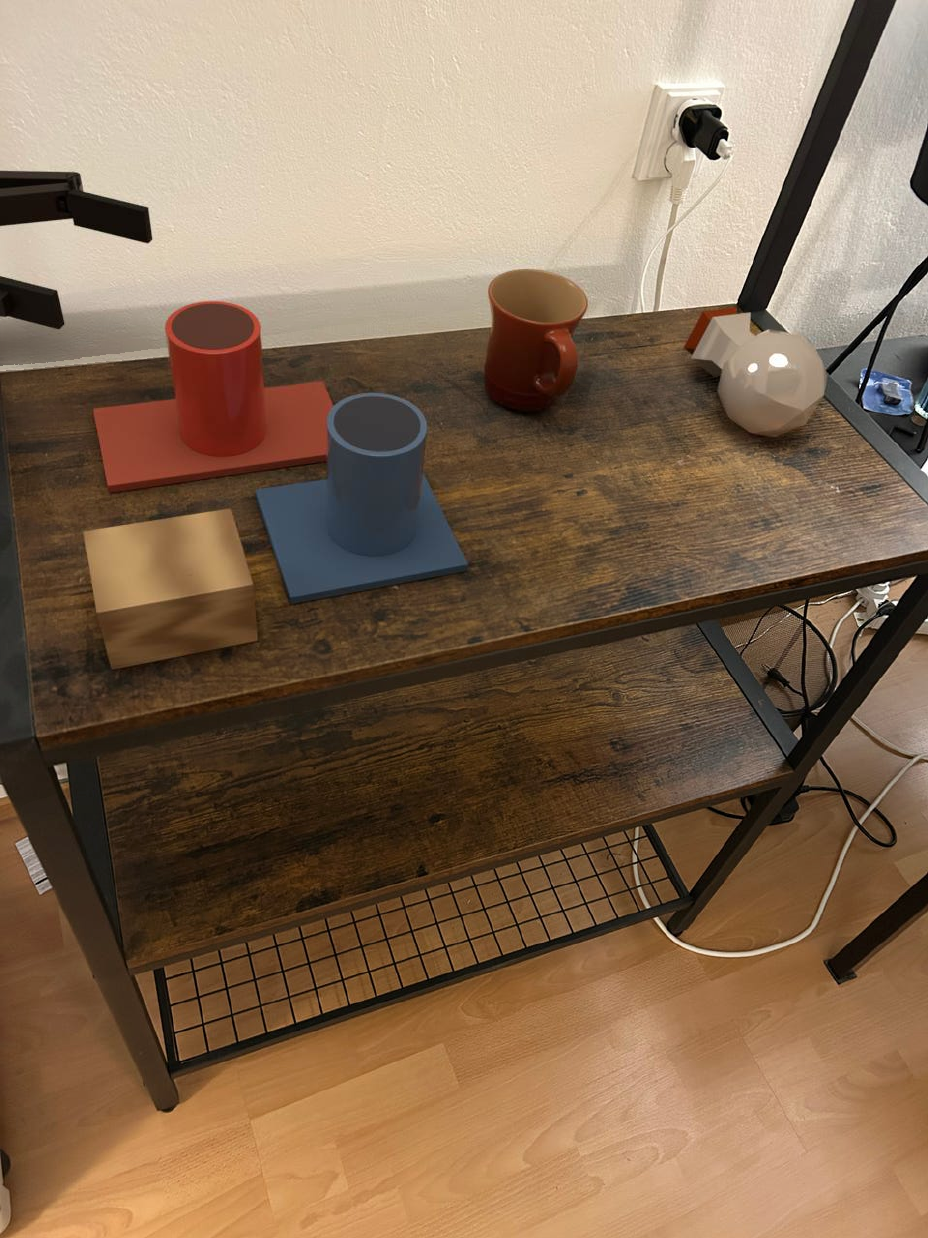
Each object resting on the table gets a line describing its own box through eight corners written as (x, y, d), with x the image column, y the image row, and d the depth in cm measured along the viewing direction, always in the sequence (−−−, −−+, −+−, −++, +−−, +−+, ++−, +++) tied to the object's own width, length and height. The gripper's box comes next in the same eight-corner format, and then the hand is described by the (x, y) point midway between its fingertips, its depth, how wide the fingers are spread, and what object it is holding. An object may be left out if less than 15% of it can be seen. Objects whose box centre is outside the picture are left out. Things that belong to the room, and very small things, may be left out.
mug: (460, 371, 93) (473, 273, 85) (542, 360, 96) (562, 264, 88) (509, 450, 86) (528, 351, 78) (596, 435, 89) (622, 338, 81)
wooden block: (111, 670, 66) (96, 612, 61) (98, 590, 70) (83, 531, 66) (258, 641, 69) (253, 584, 64) (236, 565, 73) (230, 507, 69)
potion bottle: (770, 474, 90) (686, 394, 100) (860, 409, 89) (765, 334, 99) (743, 412, 83) (656, 332, 93) (839, 339, 82) (740, 267, 92)
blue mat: (290, 604, 72) (290, 597, 71) (255, 496, 79) (254, 489, 78) (467, 571, 76) (468, 563, 75) (418, 471, 83) (419, 464, 82)
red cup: (187, 462, 79) (173, 357, 72) (172, 408, 83) (157, 304, 76) (274, 450, 81) (269, 347, 74) (256, 398, 86) (250, 296, 78)
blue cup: (339, 563, 74) (342, 462, 66) (316, 500, 78) (315, 398, 70) (429, 547, 76) (441, 447, 68) (401, 487, 80) (409, 386, 73)
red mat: (109, 493, 77) (107, 485, 76) (94, 416, 83) (92, 408, 82) (352, 457, 83) (352, 450, 82) (322, 387, 89) (322, 380, 88)
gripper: (-39, 183, 86) (184, 237, 84) (-246, 326, 70) (26, 398, 68) (-64, 93, 81) (174, 150, 79) (-295, 226, 64) (-1, 301, 62)
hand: (106, 265), depth 73 cm, fingers open, 13 cm apart
